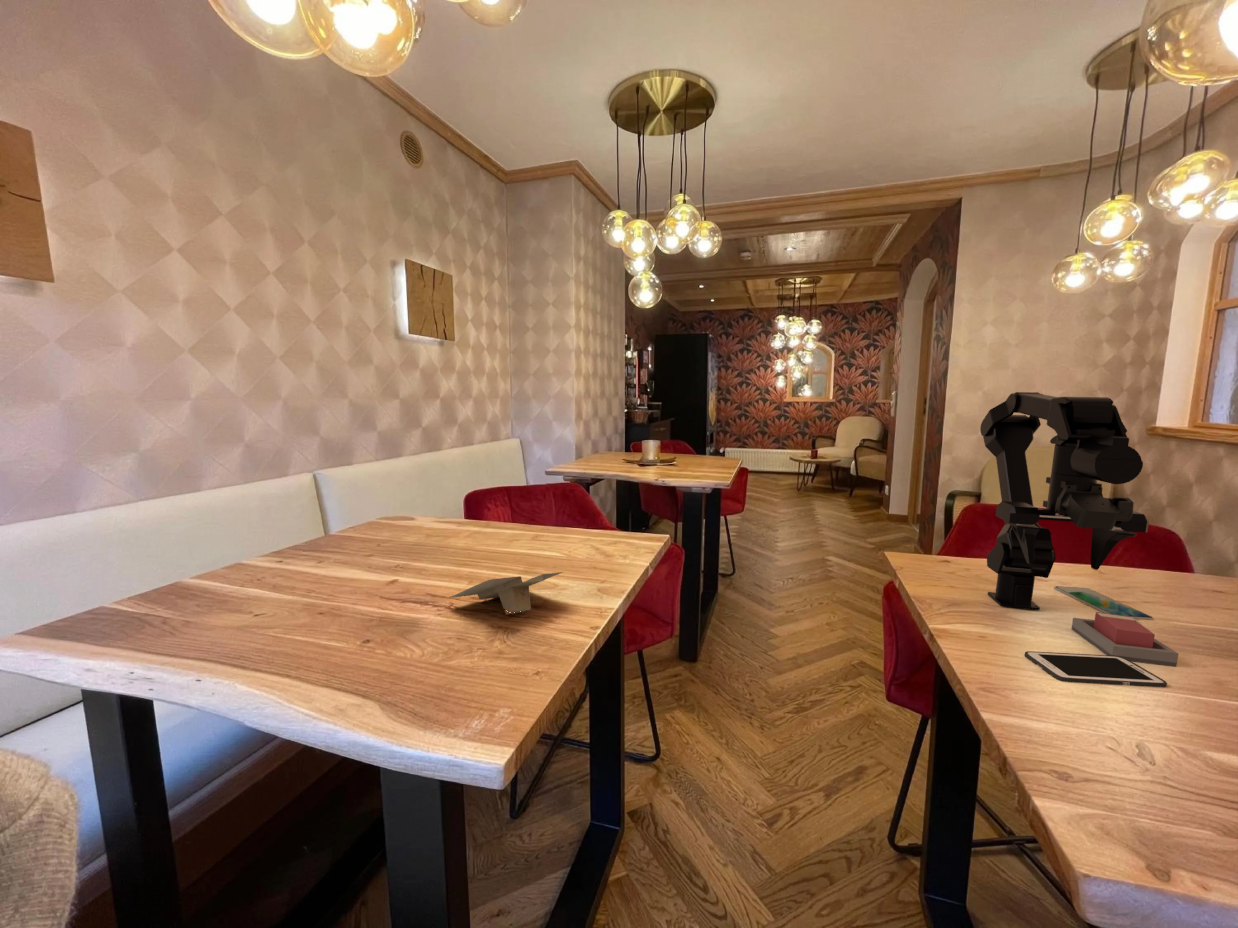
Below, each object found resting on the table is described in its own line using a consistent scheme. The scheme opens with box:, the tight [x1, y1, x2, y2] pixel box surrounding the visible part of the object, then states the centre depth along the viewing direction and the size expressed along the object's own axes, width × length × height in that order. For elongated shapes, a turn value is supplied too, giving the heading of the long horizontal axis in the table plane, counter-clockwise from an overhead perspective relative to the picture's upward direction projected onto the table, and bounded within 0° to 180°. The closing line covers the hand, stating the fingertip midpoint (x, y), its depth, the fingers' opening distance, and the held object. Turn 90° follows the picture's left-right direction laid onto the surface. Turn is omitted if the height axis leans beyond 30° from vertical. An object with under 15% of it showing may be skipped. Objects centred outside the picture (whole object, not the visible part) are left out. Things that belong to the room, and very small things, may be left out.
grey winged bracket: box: [446, 571, 564, 616], centre depth 93 cm, size 16×9×15 cm
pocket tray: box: [1071, 617, 1179, 667], centre depth 84 cm, size 11×8×2 cm
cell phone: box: [1024, 650, 1168, 688], centre depth 77 cm, size 8×15×1 cm, turn 85°
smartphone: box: [1054, 585, 1154, 621], centre depth 102 cm, size 7×1×15 cm
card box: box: [1093, 611, 1155, 648], centre depth 84 cm, size 7×4×4 cm, turn 158°
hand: (1061, 566), depth 86 cm, fingers open, 9 cm apart
